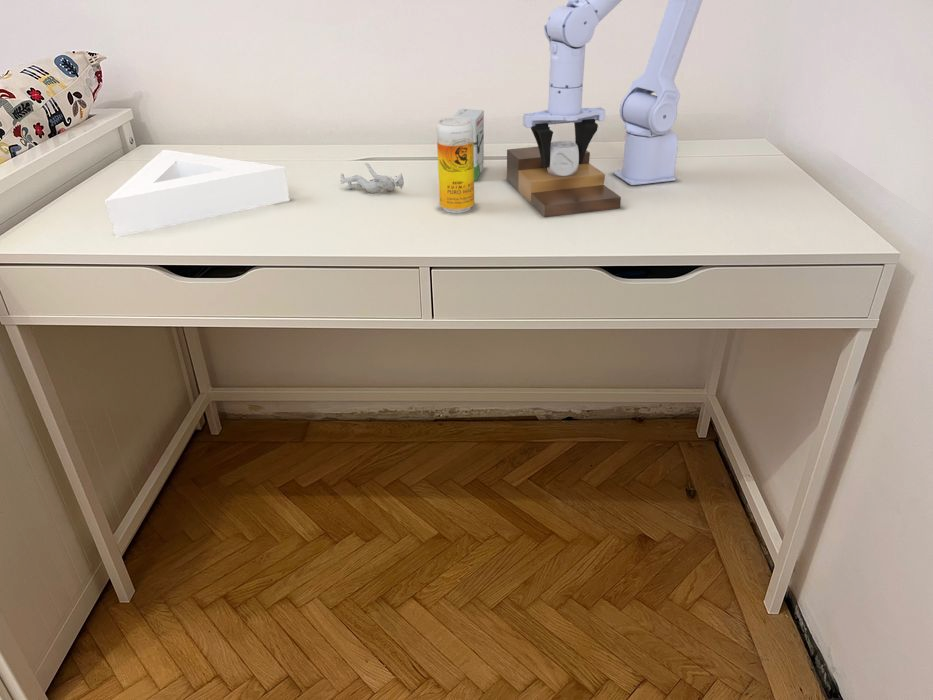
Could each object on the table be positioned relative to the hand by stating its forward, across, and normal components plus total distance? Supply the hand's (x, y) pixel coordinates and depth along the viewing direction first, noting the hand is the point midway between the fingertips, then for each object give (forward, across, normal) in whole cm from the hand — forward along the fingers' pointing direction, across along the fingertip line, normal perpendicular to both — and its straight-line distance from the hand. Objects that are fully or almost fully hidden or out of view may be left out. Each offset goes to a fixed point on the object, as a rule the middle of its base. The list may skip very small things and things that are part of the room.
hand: (561, 164), depth 125 cm
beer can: (+6, -20, -2) cm, 21 cm away
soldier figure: (+6, -33, +12) cm, 35 cm away
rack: (+5, 0, 0) cm, 5 cm away
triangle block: (+6, -67, +20) cm, 70 cm away
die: (+2, 0, 0) cm, 2 cm away
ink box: (+6, -13, +16) cm, 22 cm away
